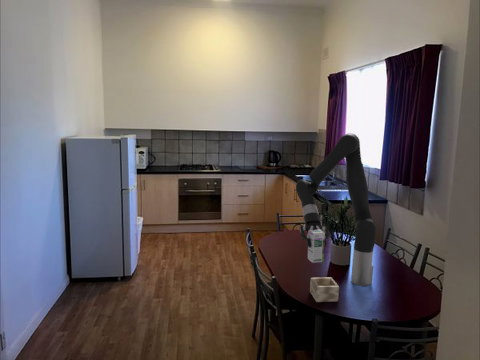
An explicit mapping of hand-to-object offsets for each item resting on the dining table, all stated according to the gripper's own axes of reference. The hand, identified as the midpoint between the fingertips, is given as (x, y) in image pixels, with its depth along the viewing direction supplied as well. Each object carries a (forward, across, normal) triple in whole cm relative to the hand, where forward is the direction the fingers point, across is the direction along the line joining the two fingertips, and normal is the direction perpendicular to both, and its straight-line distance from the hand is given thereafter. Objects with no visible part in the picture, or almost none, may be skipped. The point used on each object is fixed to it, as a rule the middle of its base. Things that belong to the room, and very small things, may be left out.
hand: (317, 246), depth 180 cm
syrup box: (+4, 0, +6) cm, 8 cm away
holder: (+20, +2, +11) cm, 23 cm away
